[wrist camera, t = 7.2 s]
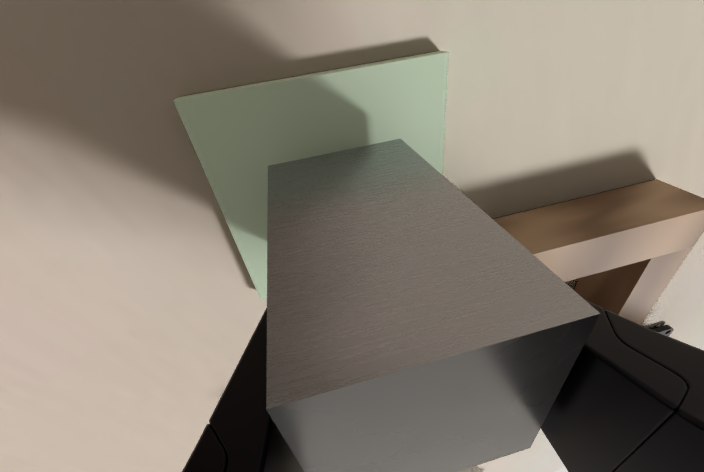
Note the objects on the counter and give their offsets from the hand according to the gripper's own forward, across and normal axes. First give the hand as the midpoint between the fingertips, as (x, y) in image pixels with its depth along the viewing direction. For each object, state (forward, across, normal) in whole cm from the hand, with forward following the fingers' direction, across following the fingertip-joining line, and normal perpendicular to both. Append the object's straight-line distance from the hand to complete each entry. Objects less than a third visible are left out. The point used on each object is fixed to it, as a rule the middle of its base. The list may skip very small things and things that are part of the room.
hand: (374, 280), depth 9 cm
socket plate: (+6, -12, +9) cm, 16 cm away
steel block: (+4, 0, 0) cm, 4 cm away
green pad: (+6, 0, 0) cm, 6 cm away
